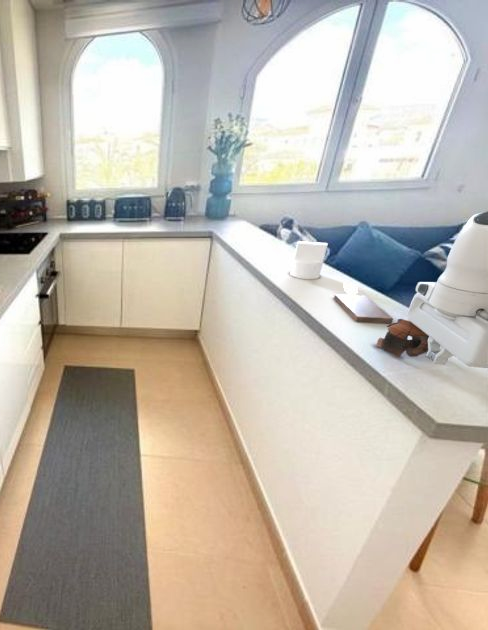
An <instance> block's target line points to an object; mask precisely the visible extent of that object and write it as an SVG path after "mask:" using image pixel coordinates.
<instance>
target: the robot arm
mask: <svg viewBox="0 0 488 630" xmlns="http://www.w3.org/2000/svg"><path fill="white" fill-rule="evenodd" d="M415 292H416V293H415V294H414V296H413V297H412V299H411V302H410V304H409V308H408V310H407V319H408V320H407V321H410V322H412V323H413V324H414V325H416V326H417V327H418V328H419V329H421V330H422V331H423V332H425V333H426V334H427V335H428V336H429V338H428V349H429V350H428V352H426V353H425V356H426V358H428V359H429V360H430V361H431V362H433V363H434V364H435V365H439V366H443V365H446V364H447V362H448V359H450V358H452V357H455V358H456V359H458V360H459V361H460V362H462V363H463V364H464V365H465V366H467V367H470V368H471V367H473V368H481V369H488V210H484V211H481V212H478V213H475V214H473V215H472V216H471V217H470V218H469V219H468V220H467V222H466V223H465V224H464V225H463V227H462V229H461V230H460V231H459V233H458V235H457V237H456V238H455V240H454V242H453V244H452V245H451V248H450V251H449V253H448V255H447V257H446V266H445V269H444V270H443V272H442V273H441V274H440V275H439V277H438V278H437V281H419V282H417V284H416V286H415Z"/></svg>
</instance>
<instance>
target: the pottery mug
mask: <svg viewBox="0 0 488 630" xmlns="http://www.w3.org/2000/svg"><path fill="white" fill-rule="evenodd" d="M386 328H387V332H386V334H385V336H384V338H383V337H379V338H378V339H377V342H376V343H375V346H376V347H378V348H380V349H382V350H384V351H385V352H386V353H389V354H391V355H393V356H395V357H397V358H400V357H401V356H402V355H403V354H404V352H405V353H406V355H408V356H409V357H411V358H413V357H415V358H416V357H418V356H421V355H423V354H427V352H428V350H429V349H428V338H429V336H428V335H427V334H426V333H425V332H423V331H422V330H421V329H419V328H418V327H417V326H416V325H414V324H413V323H412V322H410V321H409V320H407V319H403V318H398V319H397V322H392V323H389V324H388V325H386ZM409 337H411V339H408V338H409Z"/></svg>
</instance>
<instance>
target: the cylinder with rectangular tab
mask: <svg viewBox="0 0 488 630" xmlns="http://www.w3.org/2000/svg"><path fill="white" fill-rule="evenodd" d="M328 244H329V243H328V242H319V241H318V242H317V241H304V240H303V241H302V240H298V241H297V242H296V246H295V251H294V255H293V261H292V265H291V268H290V269H291V270H290V273H289V274H290V276H292V277H294V278H298V279H303V280H316V279H319V278H320V277H321V272H322V268H323V264H324V261H325V256H326V253H327V250H328Z"/></svg>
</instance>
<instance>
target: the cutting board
mask: <svg viewBox="0 0 488 630" xmlns="http://www.w3.org/2000/svg"><path fill="white" fill-rule="evenodd" d="M333 299H334V300H335V301H336V303H337V304H338V305H339V306H340V307H341V308H342V309H343V310H344V311H345V312H346V313H347V314H348V315H349V316H350V317H351V318H352V319H353V320H354V321H355V323H356V322H359V323H375V324H393V320H394V318H393V317H392V316H391V315H390V314H388V313H387V312H386V311H385V310H384V309H383V308H381V307H380V306H379V305H378V304H377V303H375V302H374V301H373V300H372V299H371V298H370V297H368V296H367V295H366V294H365V295H362V294H339V293H338V294H334V296H333Z"/></svg>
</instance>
